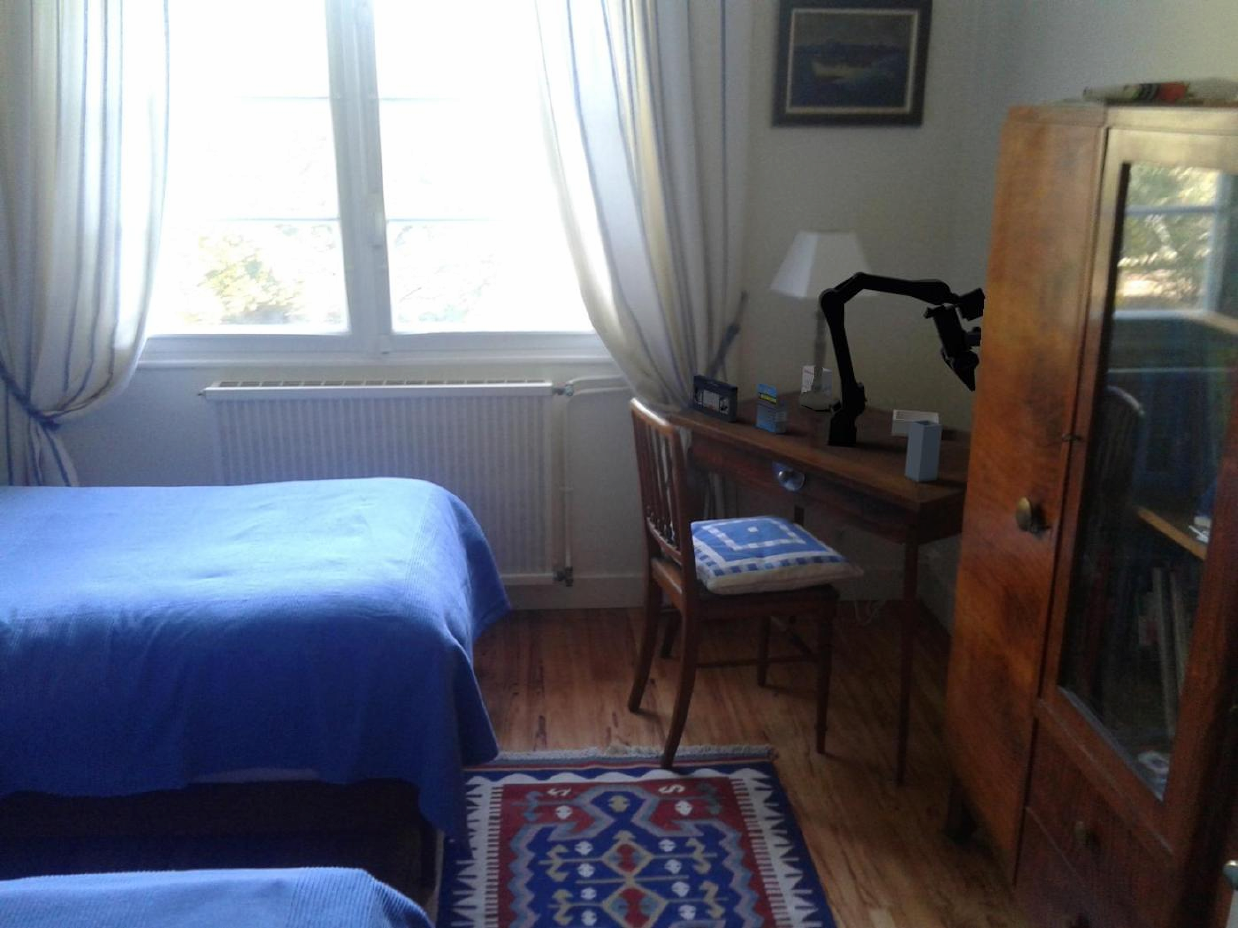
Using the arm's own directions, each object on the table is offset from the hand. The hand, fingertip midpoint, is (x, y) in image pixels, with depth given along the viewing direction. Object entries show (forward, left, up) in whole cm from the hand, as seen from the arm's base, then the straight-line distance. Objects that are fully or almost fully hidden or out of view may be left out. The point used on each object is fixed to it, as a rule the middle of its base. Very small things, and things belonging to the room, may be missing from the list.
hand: (969, 387), depth 265 cm
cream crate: (-12, +13, -16) cm, 24 cm away
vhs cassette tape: (-66, +14, -16) cm, 69 cm away
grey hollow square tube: (-10, -30, -16) cm, 36 cm away
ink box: (-40, +33, -16) cm, 55 cm away
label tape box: (-49, +3, -16) cm, 52 cm away
